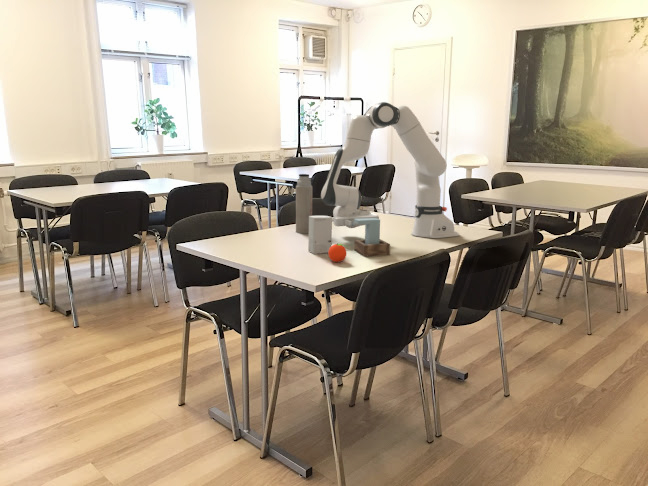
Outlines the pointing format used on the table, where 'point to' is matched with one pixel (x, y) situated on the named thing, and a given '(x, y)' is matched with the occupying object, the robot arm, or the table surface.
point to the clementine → (337, 252)
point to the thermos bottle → (303, 203)
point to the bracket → (370, 229)
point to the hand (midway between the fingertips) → (362, 223)
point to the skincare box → (320, 234)
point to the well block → (372, 248)
